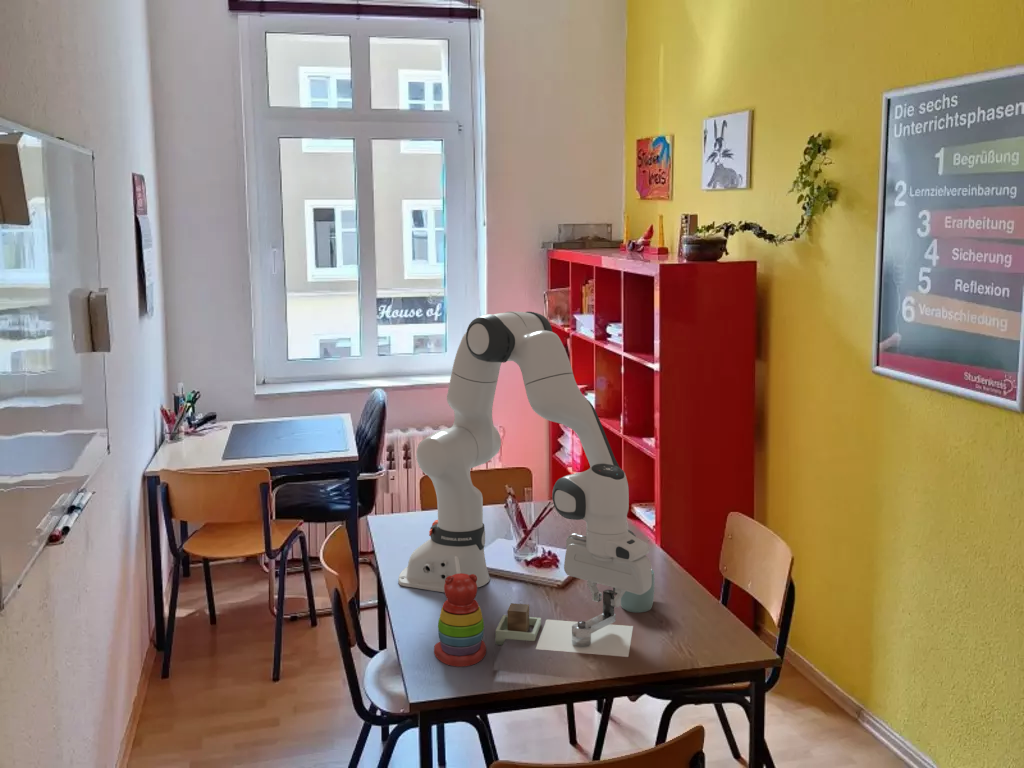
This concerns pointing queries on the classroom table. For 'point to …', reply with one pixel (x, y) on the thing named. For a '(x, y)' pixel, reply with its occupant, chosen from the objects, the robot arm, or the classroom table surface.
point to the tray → (504, 634)
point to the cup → (639, 599)
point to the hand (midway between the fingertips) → (606, 603)
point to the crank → (594, 622)
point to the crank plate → (602, 641)
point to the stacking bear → (460, 623)
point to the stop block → (518, 617)
